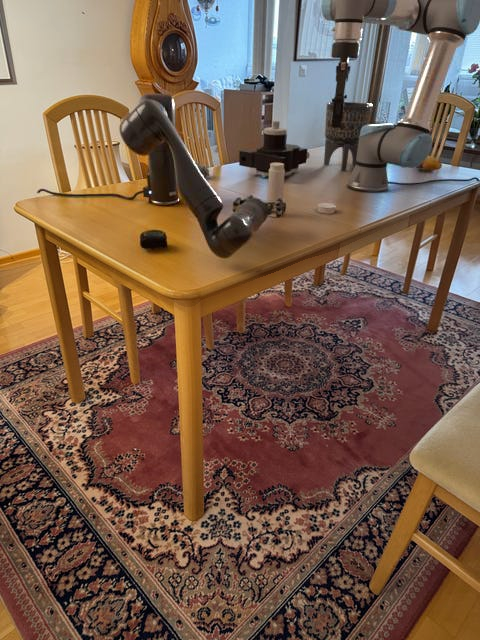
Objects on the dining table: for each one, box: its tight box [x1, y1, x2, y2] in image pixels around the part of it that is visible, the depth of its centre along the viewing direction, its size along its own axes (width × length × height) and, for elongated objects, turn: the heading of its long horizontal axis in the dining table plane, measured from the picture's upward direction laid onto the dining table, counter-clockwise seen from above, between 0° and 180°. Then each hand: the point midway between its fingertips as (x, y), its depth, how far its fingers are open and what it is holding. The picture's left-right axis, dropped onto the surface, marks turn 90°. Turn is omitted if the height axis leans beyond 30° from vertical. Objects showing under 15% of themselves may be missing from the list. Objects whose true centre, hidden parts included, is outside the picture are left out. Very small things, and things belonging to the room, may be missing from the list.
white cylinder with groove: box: [317, 202, 336, 215], centre depth 149 cm, size 6×6×2 cm
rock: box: [195, 162, 210, 178], centre depth 183 cm, size 13×9×6 cm, turn 131°
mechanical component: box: [238, 120, 311, 178], centre depth 191 cm, size 22×21×30 cm
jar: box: [266, 163, 285, 218], centre depth 141 cm, size 5×5×16 cm
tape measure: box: [139, 229, 168, 250], centre depth 117 cm, size 7×7×4 cm
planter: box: [323, 101, 374, 172], centre depth 204 cm, size 20×20×26 cm
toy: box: [415, 156, 443, 172], centre depth 207 cm, size 11×6×15 cm
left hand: (265, 200), depth 132 cm, fingers open, 8 cm apart
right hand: (336, 124), depth 136 cm, fingers open, 13 cm apart
